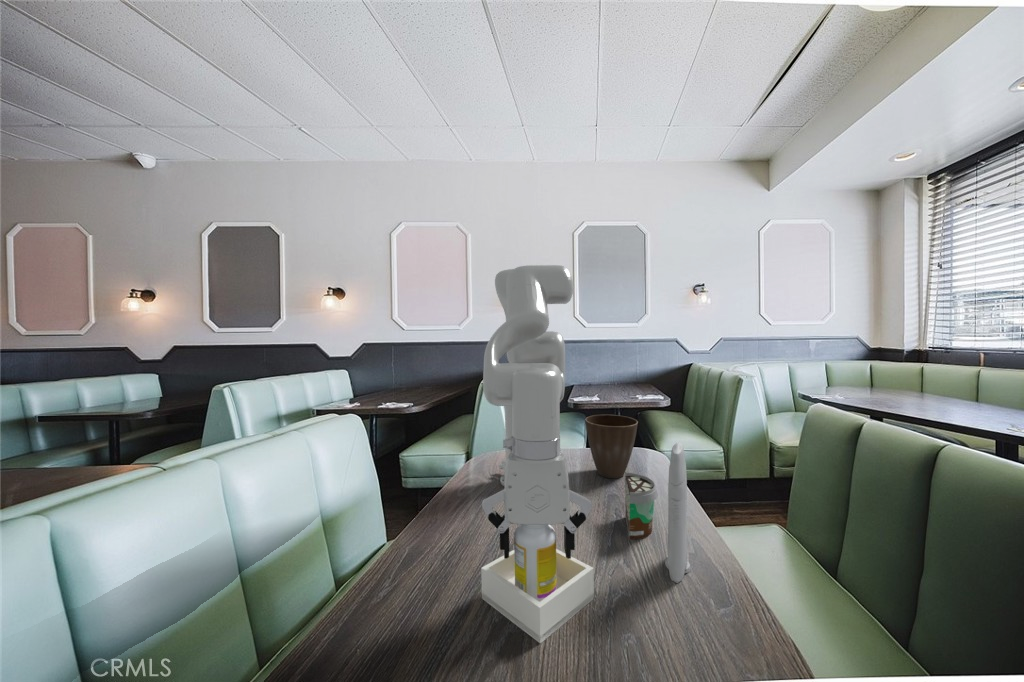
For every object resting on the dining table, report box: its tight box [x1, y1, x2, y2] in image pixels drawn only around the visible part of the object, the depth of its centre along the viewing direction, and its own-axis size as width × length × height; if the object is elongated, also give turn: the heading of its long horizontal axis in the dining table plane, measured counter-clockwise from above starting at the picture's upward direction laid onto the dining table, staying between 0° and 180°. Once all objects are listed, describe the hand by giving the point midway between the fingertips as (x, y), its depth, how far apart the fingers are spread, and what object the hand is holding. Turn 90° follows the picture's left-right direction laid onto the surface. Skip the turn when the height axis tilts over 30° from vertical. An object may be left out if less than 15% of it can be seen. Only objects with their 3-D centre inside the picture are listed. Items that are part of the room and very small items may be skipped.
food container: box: [624, 471, 659, 540], centre depth 83 cm, size 12×6×10 cm, turn 168°
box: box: [480, 548, 595, 644], centre depth 62 cm, size 13×13×5 cm
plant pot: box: [585, 414, 639, 479], centre depth 115 cm, size 15×15×16 cm
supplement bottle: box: [513, 525, 557, 602], centre depth 62 cm, size 7×7×13 cm
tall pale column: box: [664, 442, 691, 584], centre depth 70 cm, size 11×4×22 cm, turn 153°
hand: (537, 553), depth 62 cm, fingers open, 9 cm apart
